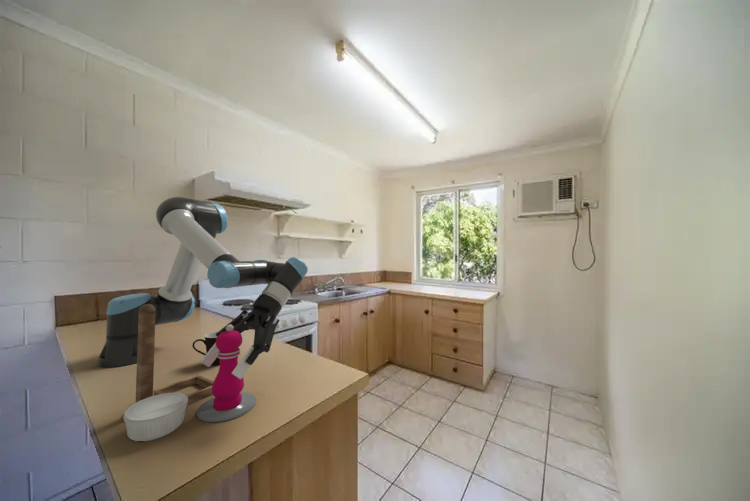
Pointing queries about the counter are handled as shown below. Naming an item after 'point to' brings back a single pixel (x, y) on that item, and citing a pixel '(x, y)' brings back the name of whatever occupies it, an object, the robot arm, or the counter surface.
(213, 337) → the coffee mug
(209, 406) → the slate coaster
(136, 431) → the ramekin
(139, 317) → the wooden stand
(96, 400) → the counter surface
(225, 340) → the pepper mill
